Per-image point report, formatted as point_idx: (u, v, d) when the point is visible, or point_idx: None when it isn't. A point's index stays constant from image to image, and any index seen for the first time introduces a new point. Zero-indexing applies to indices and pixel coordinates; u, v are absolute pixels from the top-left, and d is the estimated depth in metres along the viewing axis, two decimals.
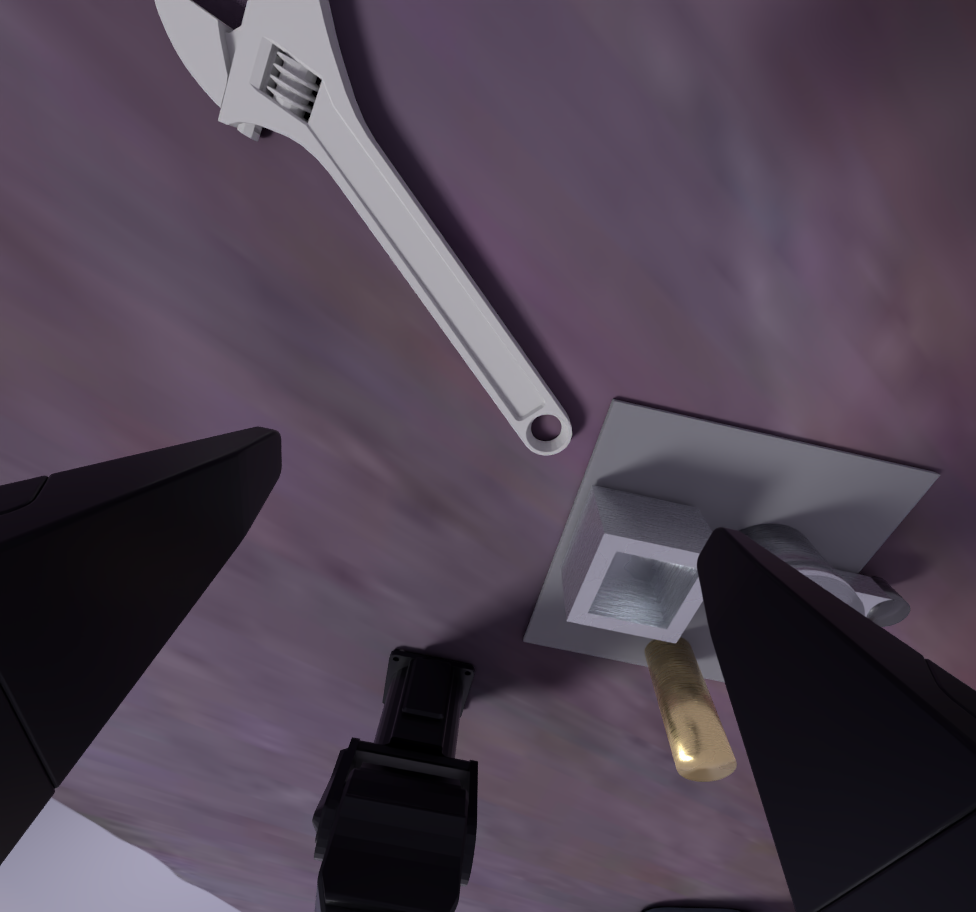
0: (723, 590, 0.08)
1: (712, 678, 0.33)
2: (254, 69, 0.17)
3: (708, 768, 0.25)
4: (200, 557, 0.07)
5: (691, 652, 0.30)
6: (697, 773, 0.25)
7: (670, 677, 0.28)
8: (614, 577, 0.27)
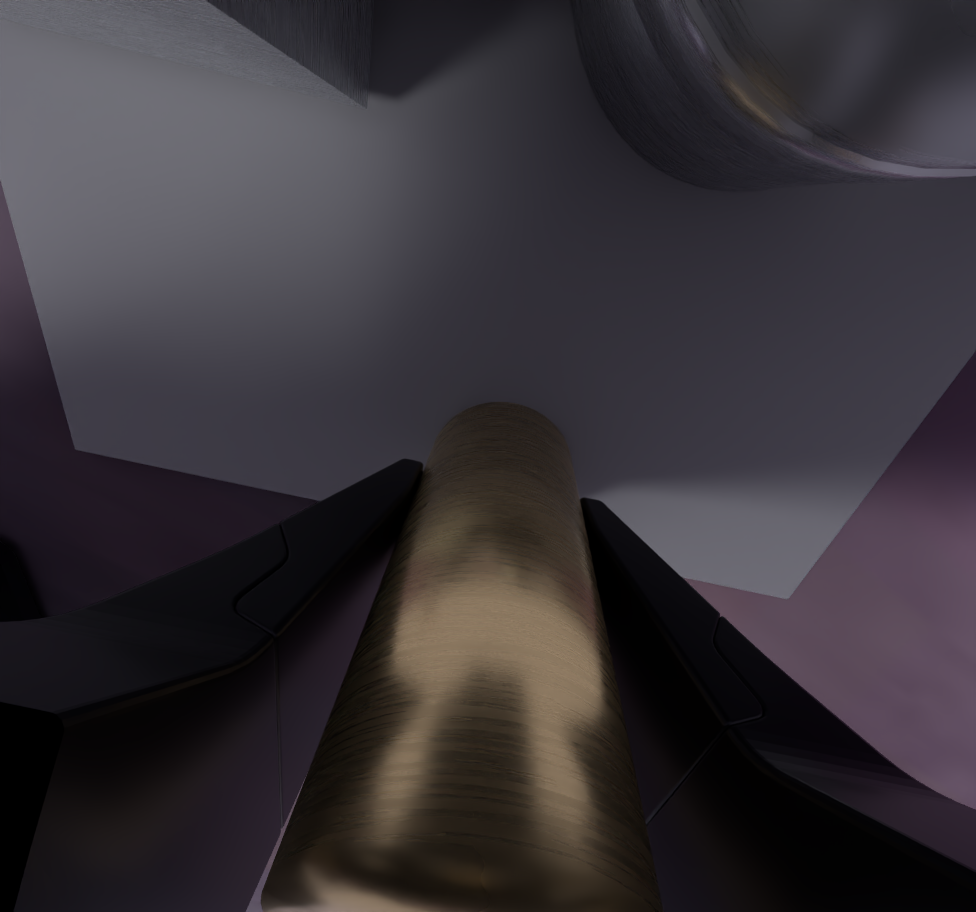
0: None
1: None
2: None
3: None
4: None
5: (554, 441, 0.09)
6: None
7: (433, 490, 0.07)
8: None
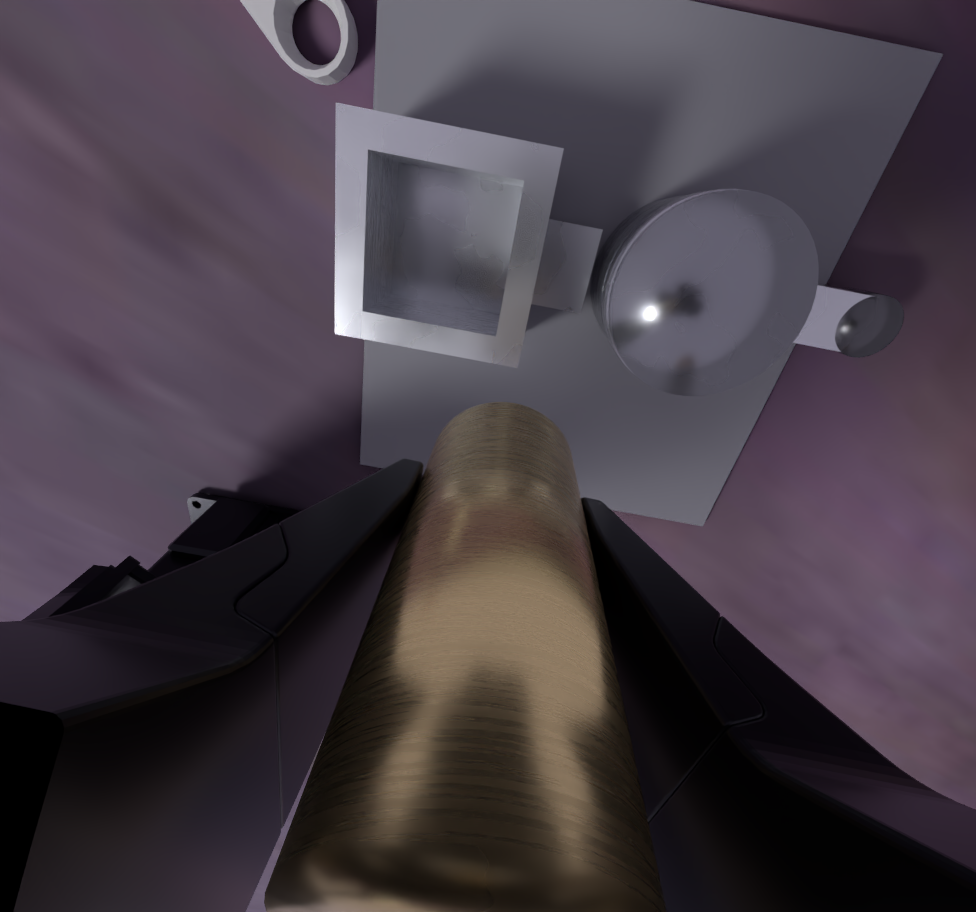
0: None
1: (632, 512, 0.23)
2: None
3: None
4: (377, 593, 0.07)
5: (555, 441, 0.09)
6: None
7: (435, 490, 0.07)
8: (441, 305, 0.17)
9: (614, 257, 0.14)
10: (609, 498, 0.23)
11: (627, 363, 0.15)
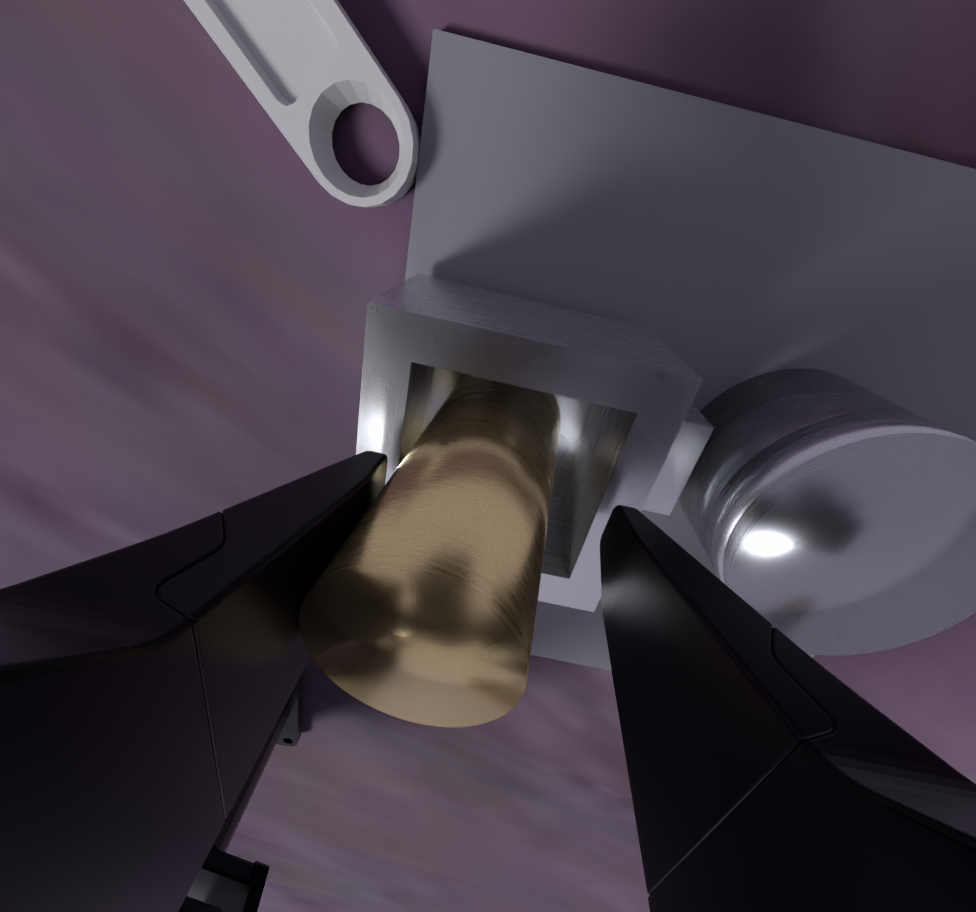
0: (613, 567, 0.08)
1: None
2: None
3: (424, 670, 0.06)
4: None
5: (540, 397, 0.11)
6: (394, 686, 0.06)
7: (436, 421, 0.09)
8: None
9: (734, 477, 0.11)
10: None
11: None
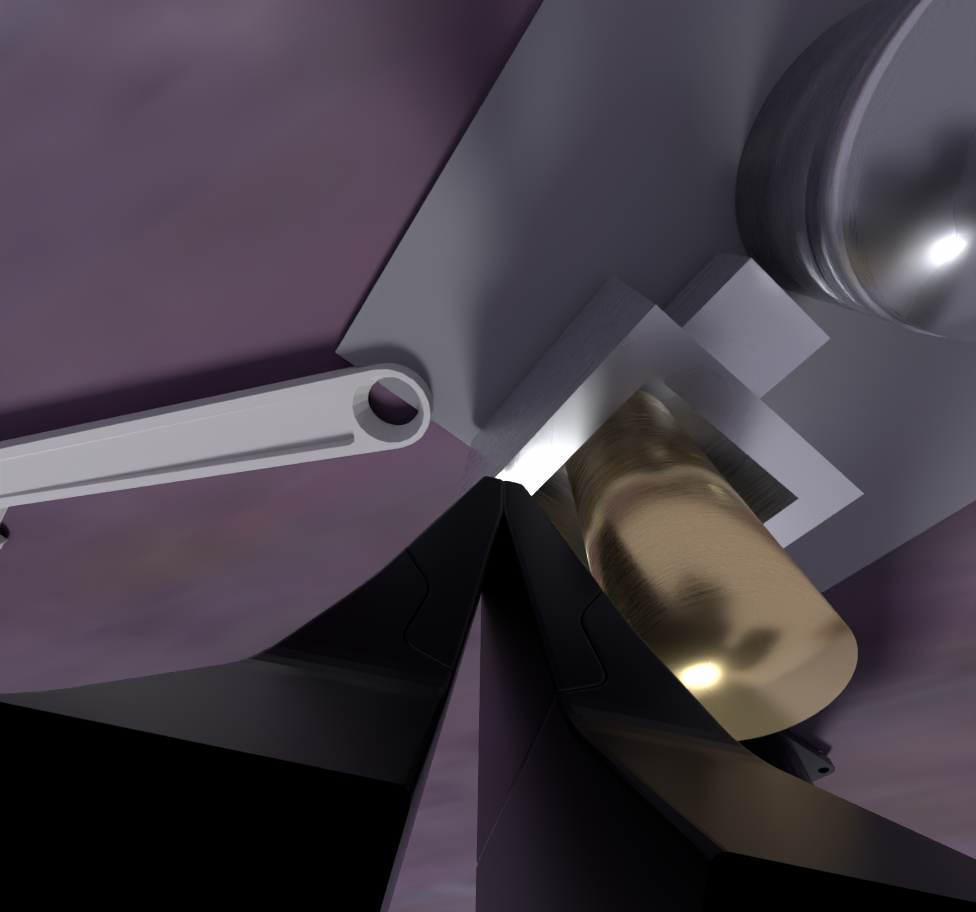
0: None
1: None
2: None
3: (755, 674, 0.06)
4: None
5: None
6: (763, 704, 0.07)
7: (576, 510, 0.10)
8: None
9: (818, 268, 0.09)
10: None
11: None
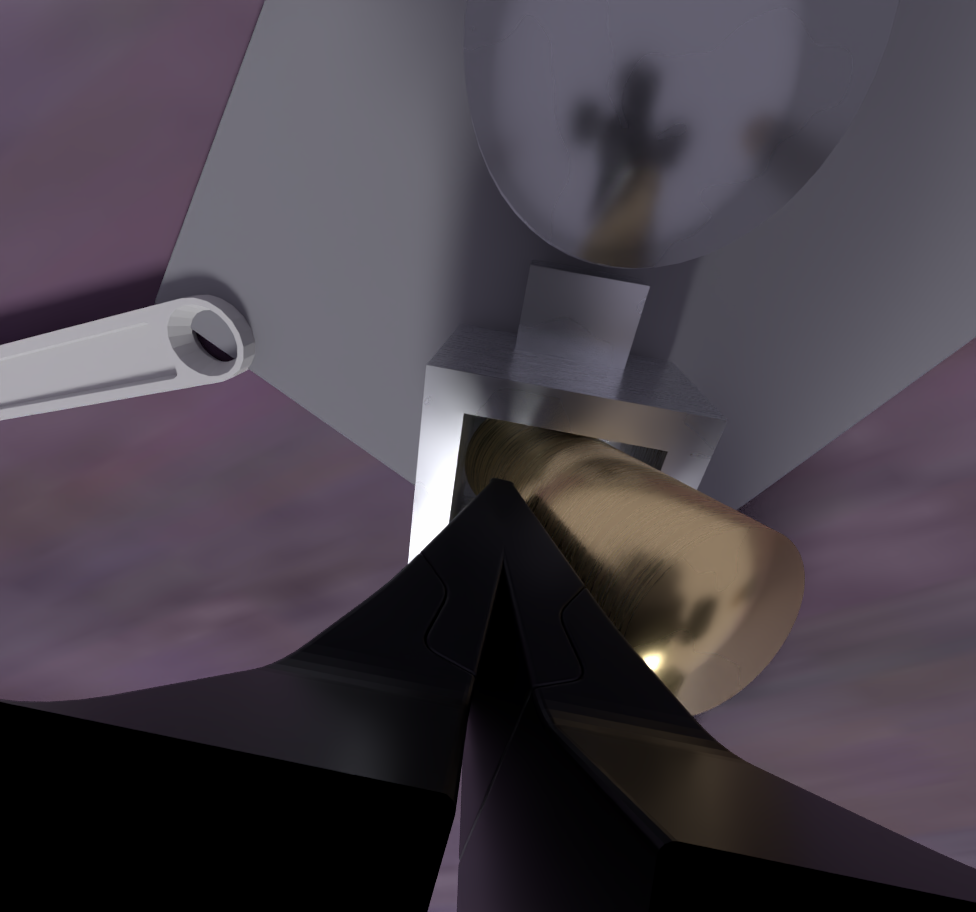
0: None
1: (972, 335, 0.12)
2: None
3: (732, 613, 0.06)
4: None
5: (487, 439, 0.11)
6: (756, 631, 0.07)
7: None
8: None
9: None
10: (907, 362, 0.12)
11: (672, 261, 0.08)
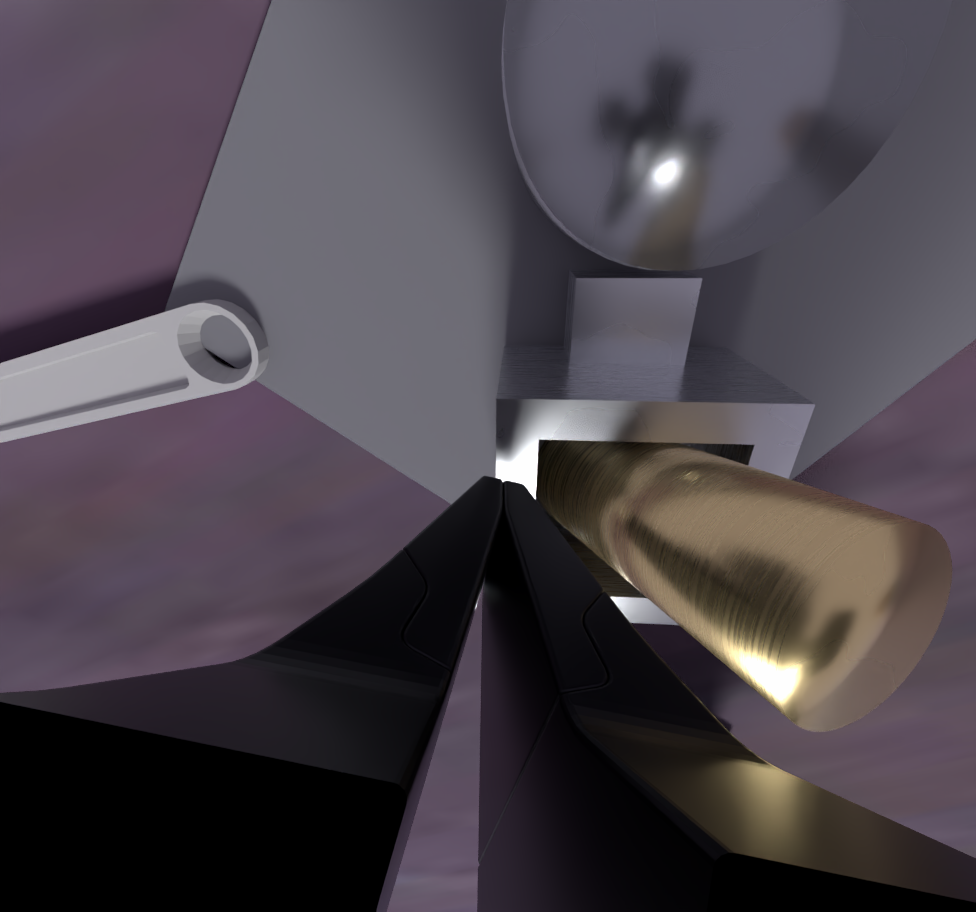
0: None
1: None
2: None
3: (883, 614, 0.06)
4: (474, 612, 0.07)
5: (556, 458, 0.11)
6: (907, 626, 0.06)
7: (608, 564, 0.10)
8: None
9: (540, 206, 0.09)
10: (930, 349, 0.12)
11: (718, 261, 0.08)
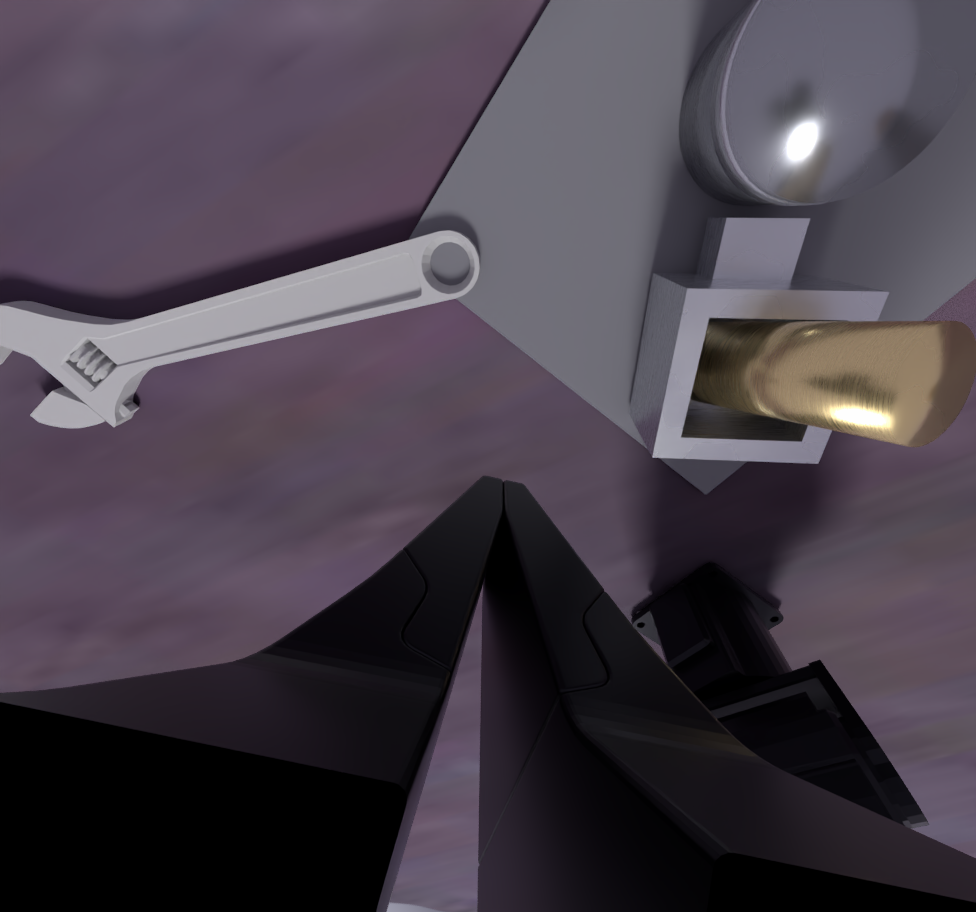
0: None
1: None
2: (81, 383, 0.22)
3: (941, 377, 0.11)
4: None
5: None
6: (953, 389, 0.12)
7: (745, 405, 0.15)
8: None
9: (722, 166, 0.14)
10: (952, 279, 0.18)
11: (840, 197, 0.13)
